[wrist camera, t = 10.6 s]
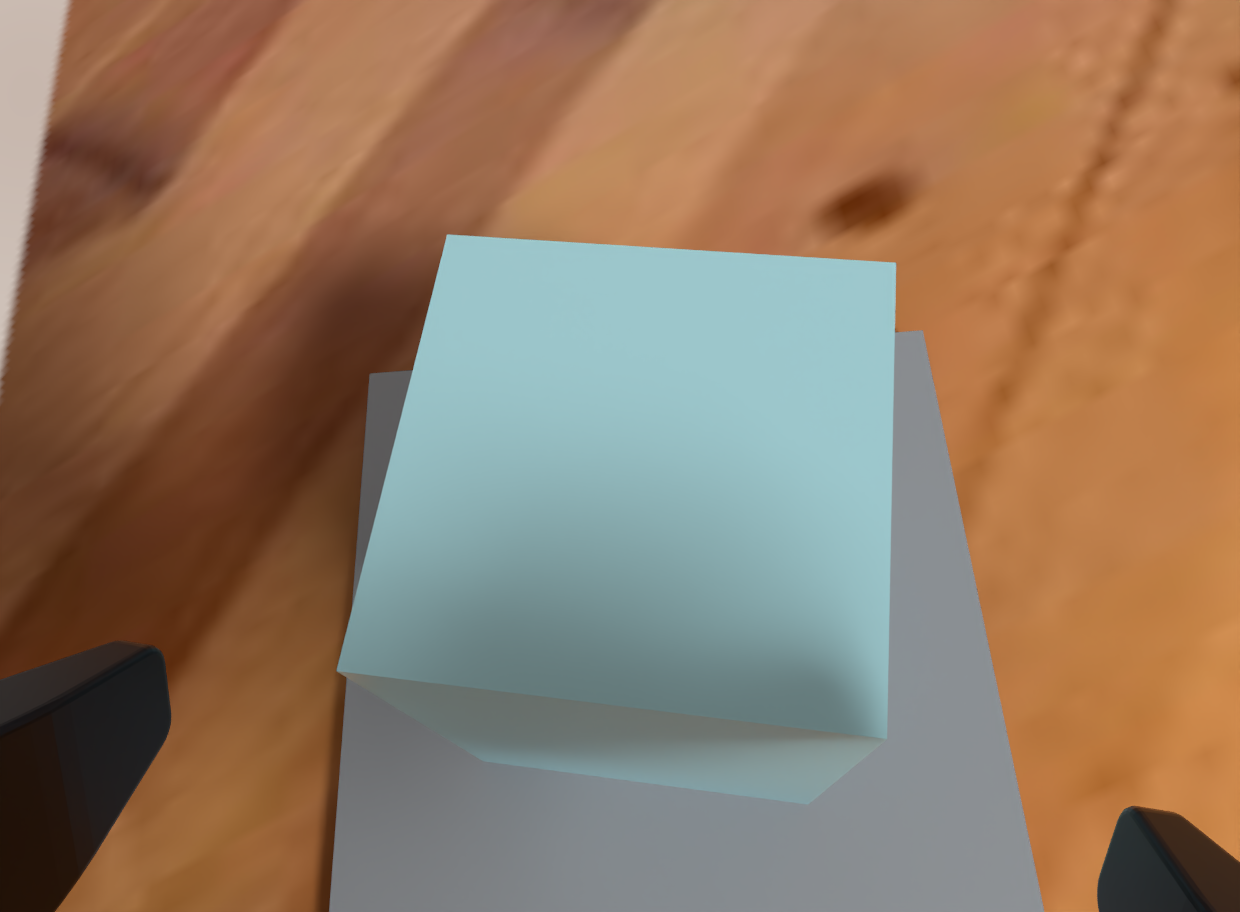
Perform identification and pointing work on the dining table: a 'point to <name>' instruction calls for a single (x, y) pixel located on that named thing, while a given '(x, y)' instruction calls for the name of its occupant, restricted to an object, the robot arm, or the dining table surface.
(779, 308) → the pale blue cube block
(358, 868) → the post board
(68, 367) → the dining table surface
